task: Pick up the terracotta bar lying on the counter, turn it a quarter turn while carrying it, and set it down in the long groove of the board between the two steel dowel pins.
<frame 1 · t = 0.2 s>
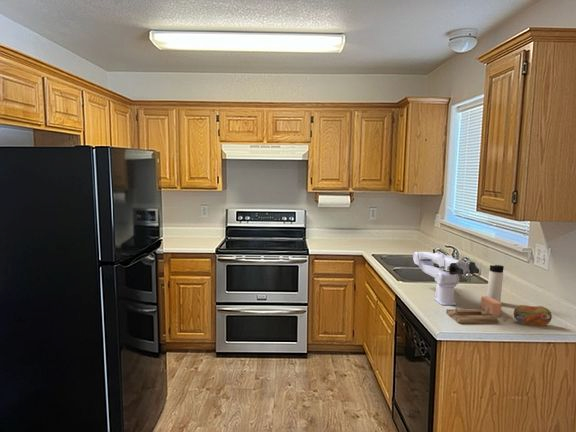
hand: (470, 271, 185), 21 cm above the worktop, tool horizontal, fingers open, 7 cm apart
travel mug: (493, 303, 208), on the worktop
tin: (531, 324, 182), on the worktop
bar: (490, 311, 195), on the worktop
board: (471, 318, 186), on the worktop
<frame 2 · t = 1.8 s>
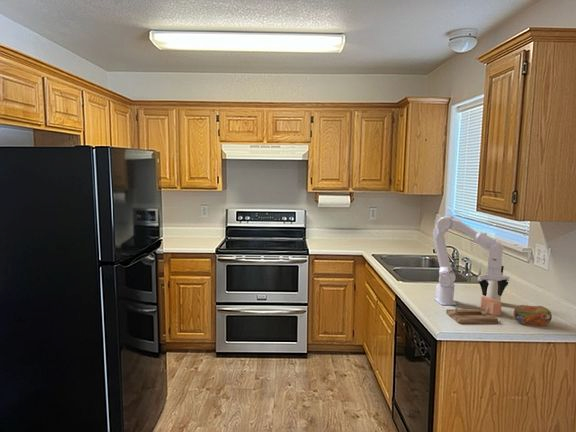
hand: (491, 295, 194), 8 cm above the worktop, tool pointing down, fingers open, 7 cm apart
nothing on the worktop moved.
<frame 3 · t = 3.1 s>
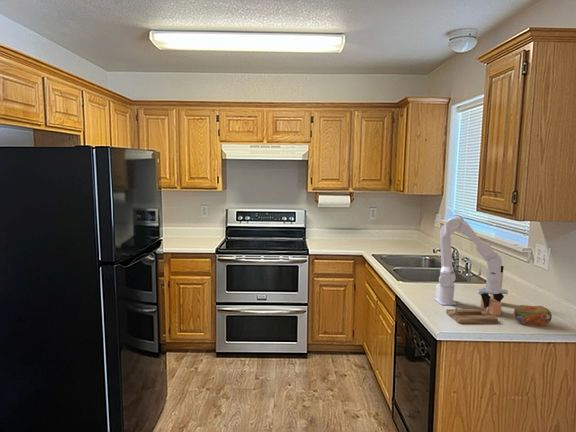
hand: (490, 308, 195), 2 cm above the worktop, tool pointing down, fingers closed on bar, 4 cm apart
bar: (490, 311, 195), on the worktop, touching gripper
everything else where it was.
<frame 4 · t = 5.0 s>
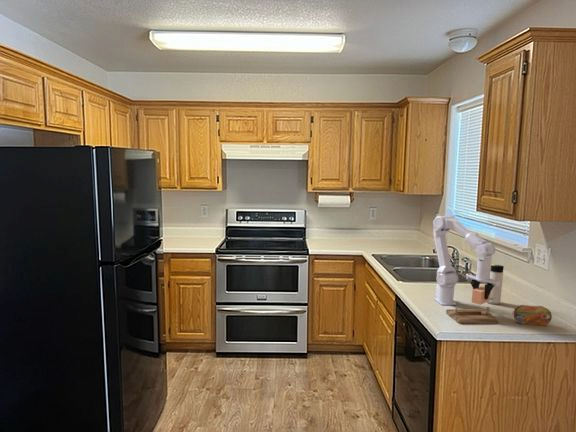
hand: (481, 297, 189), 9 cm above the worktop, tool pointing down, fingers closed on bar, 4 cm apart
bar: (480, 301, 189), point 7 cm above the worktop, touching gripper
everything else where it was.
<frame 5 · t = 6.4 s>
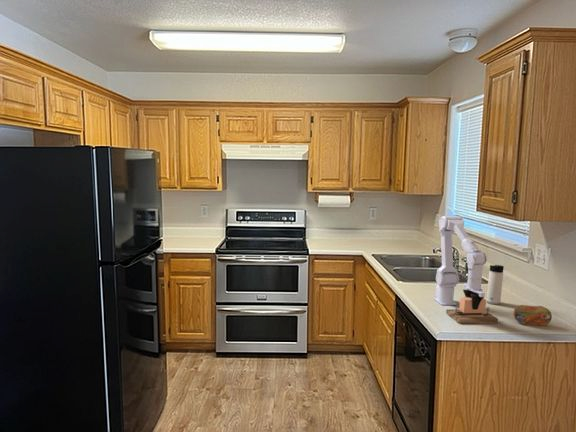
hand: (472, 307, 186), 5 cm above the worktop, tool pointing down, fingers closed on bar, 4 cm apart
bar: (472, 311, 186), point 3 cm above the worktop, touching gripper
everything else where it was.
when the fingers open (3 cm above the worktop, at t = 7.3 s): bar stays where it is, resting on board.
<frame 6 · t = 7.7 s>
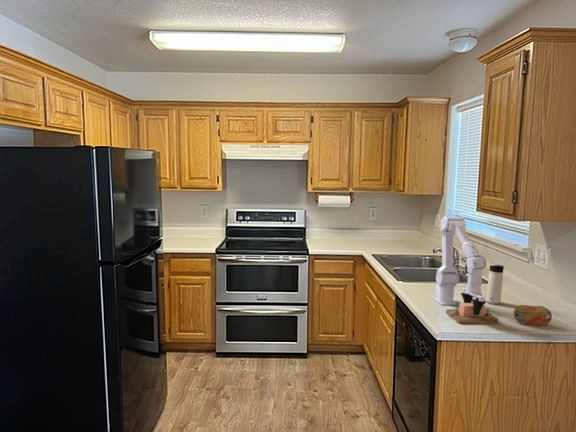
hand: (471, 311, 186), 3 cm above the worktop, tool pointing down, fingers open, 7 cm apart
bar: (471, 317, 186), resting on board
everything else where it was.
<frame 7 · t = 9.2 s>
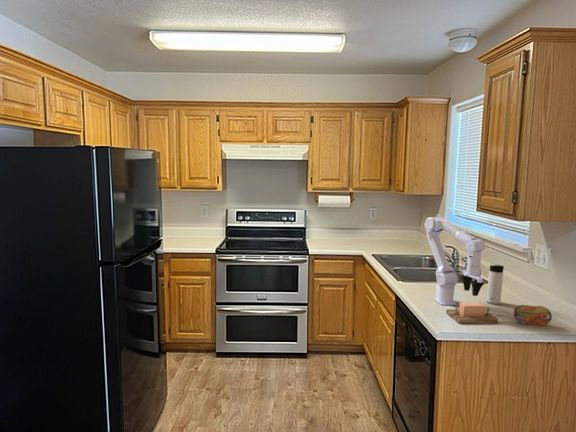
hand: (470, 292, 193), 9 cm above the worktop, tool pointing down, fingers open, 7 cm apart
nothing on the worktop moved.
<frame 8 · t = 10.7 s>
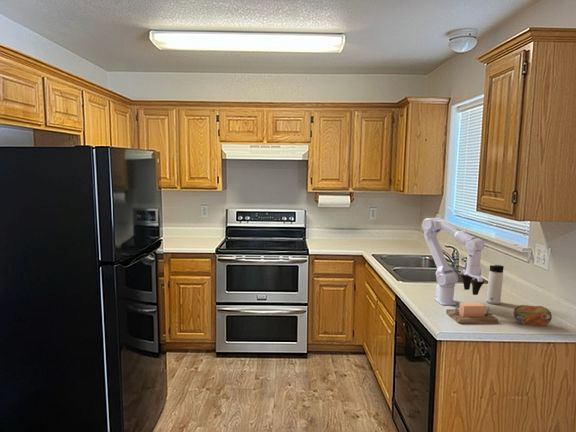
hand: (470, 292, 194), 9 cm above the worktop, tool pointing down, fingers open, 7 cm apart
nothing on the worktop moved.
at the end: bar 0.1 cm off-centre on the board, point 0.5 cm above the board's base; bar tilted 0°; the gripper is holding nothing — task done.
